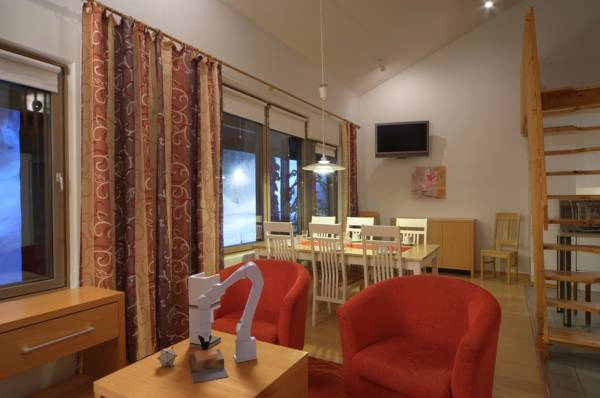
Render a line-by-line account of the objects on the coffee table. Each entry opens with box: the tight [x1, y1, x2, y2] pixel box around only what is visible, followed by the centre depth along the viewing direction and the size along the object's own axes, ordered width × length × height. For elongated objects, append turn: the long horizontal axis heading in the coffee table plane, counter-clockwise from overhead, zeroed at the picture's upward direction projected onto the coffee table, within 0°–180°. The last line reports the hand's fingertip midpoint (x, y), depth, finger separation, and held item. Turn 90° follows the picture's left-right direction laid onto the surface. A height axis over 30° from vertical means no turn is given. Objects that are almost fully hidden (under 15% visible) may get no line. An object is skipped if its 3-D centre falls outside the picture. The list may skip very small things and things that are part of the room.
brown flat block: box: [188, 348, 225, 374], centre depth 164 cm, size 14×11×4 cm
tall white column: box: [187, 271, 222, 350], centre depth 188 cm, size 11×11×35 cm
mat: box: [190, 366, 229, 385], centre depth 155 cm, size 14×9×1 cm, turn 112°
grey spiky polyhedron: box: [156, 346, 178, 369], centre depth 164 cm, size 9×8×10 cm
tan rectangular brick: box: [194, 347, 218, 362], centre depth 163 cm, size 9×6×2 cm, turn 112°
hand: (205, 351), depth 167 cm, fingers closed
